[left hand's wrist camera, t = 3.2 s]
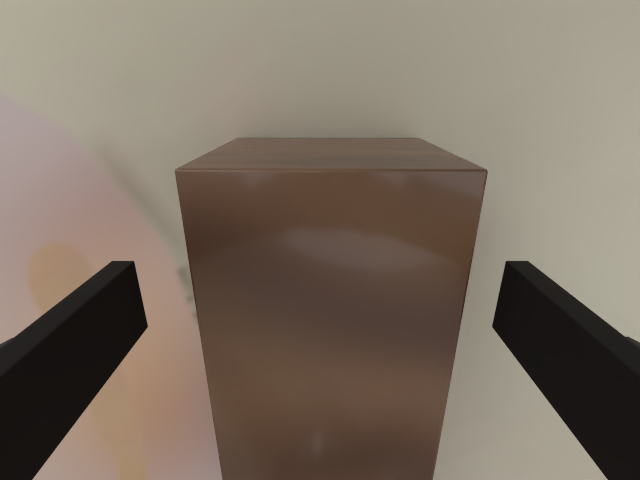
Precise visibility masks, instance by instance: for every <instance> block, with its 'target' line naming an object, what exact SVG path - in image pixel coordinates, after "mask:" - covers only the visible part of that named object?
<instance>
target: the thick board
mask: <svg viewBox="0 0 640 480" xmlns="http://www.w3.org/2000/svg"><path fill="white" fill-rule="evenodd" d="M487 173H488V172H487V170H486V169H484V168H482V167H480V166H478V165H475V164H473V163H471V162H469V161H467V160H465V159H463V158H460V157H458V156H456V155H454V154H452V153H450V152H447V151H445V150H443V149H441V148H439V147H437V146H435V145H432V144H430V143H428V142H426V141H424V140H422V139H420V138H237V139H235V140H233V141H231V142H229V143H227V144H225V145H223V146H221V147H219V148H217V149H215V150H213V151H211V152H209V153H207V154H205V155H203V156H201V157H199V158H197V159H195V160H193V161H191V162H189V163H187V164H185V165H183V166H181V167H179V168H177V169H176V170H175V175H176V181H177V187H178V194H179V200H180V207H181V213H182V220H183V226H184V233H185V239H186V246H187V252H188V259H189V265H190V272H191V278H192V285H193V291H194V298H195V304H196V310H197V317H198V323H199V330H200V336H201V343H202V349H203V356H204V362H205V369H206V375H207V382H208V388H209V395H210V401H211V407H212V414H213V421H214V427H215V433H216V440H217V446H218V453H219V459H220V466H221V472H222V479H223V480H433V475H434V470H435V464H436V458H437V453H438V447H439V442H440V436H441V430H442V425H443V419H444V414H445V408H446V402H447V397H448V391H449V386H450V380H451V374H452V369H453V363H454V358H455V352H456V346H457V341H458V335H459V330H460V324H461V318H462V313H463V307H464V302H465V296H466V290H467V285H468V279H469V274H470V268H471V263H472V257H473V251H474V246H475V240H476V235H477V229H478V223H479V218H480V212H481V207H482V201H483V195H484V190H485V184H486V179H487Z"/></svg>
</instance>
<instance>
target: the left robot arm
mask: <svg viewBox="0 0 640 480" xmlns="http://www.w3.org/2000/svg"><path fill="white" fill-rule="evenodd" d="M147 327H148V325H147V320H146V316H145V311H144V306H143V301H142V297H141V292H140V287H139V283H138V278H137V273H136V268H135V264H134V261H112V262H110V263H109V264H108V265H107V266H105V267H104V268H103V269H101V270H100V271H99V272H98V273H96V274H95V275H94V276H92V277H91V278H90V279H89V280H87V281H86V282H85V283H83V284H82V285H81V286H80V287H78V288H77V289H76V290H74V291H73V292H72V293H71V294H69V295H68V296H67V297H65V298H64V299H63V300H62V301H60V302H59V303H58V304H56V305H55V306H54V307H53V308H51V309H50V310H49V311H48V312H46V313H45V314H44V315H42V316H41V317H40V318H39V319H37V320H36V321H35V322H33V323H32V324H31V325H30V326H28V327H27V328H26V329H24V330H23V331H22V332H21V333H19V334H18V335H17V336H15V337H14V338H11V339H9V340H7V341H6V342H4V343H2V344H0V480H32V479H33V478H34V476H35V475H36V474H37V473H38V471H39V470H40V469H41V467H42V466H43V465H44V463H45V462H46V461H47V459H48V458H49V457H50V455H51V454H52V453H53V451H54V450H55V449H56V447H57V446H58V445H59V444H60V442H61V441H62V440H63V438H64V437H65V436H66V434H67V433H68V432H69V430H70V429H71V428H72V426H73V425H74V424H75V422H76V421H77V420H78V418H79V417H80V416H81V414H82V413H83V412H84V410H85V409H86V408H87V407H88V405H89V404H90V403H91V401H92V400H93V399H94V397H95V396H96V395H97V393H98V392H99V391H100V389H101V388H102V387H103V385H104V384H105V383H106V381H107V380H108V379H109V377H110V376H111V375H112V373H113V372H114V371H115V370H116V368H117V367H118V366H119V364H120V363H121V362H122V360H123V359H124V358H125V356H126V355H127V354H128V352H129V351H130V350H131V348H132V347H133V346H134V344H135V343H136V342H137V340H138V339H139V338H140V336H141V335H142V334H143V332H144V331H145V330H146V329H147ZM492 327H493V329H494V330H495V331H496V332H497V334H498V335H499V336H500V338H501V339H502V340H503V342H504V343H505V344H506V346H507V347H508V348H509V350H510V351H511V352H512V354H513V355H514V356H515V358H516V359H517V360H518V362H519V363H520V364H521V366H522V367H523V368H524V370H525V371H526V372H527V373H528V375H529V376H530V377H531V379H532V380H533V381H534V383H535V384H536V385H537V387H538V388H539V389H540V391H541V392H542V393H543V395H544V396H545V397H546V399H547V400H548V401H549V403H550V404H551V405H552V407H553V408H554V409H555V410H556V412H557V413H558V414H559V416H560V417H561V418H562V420H563V421H564V422H565V424H566V425H567V426H568V428H569V429H570V430H571V432H572V433H573V434H574V436H575V437H576V438H577V440H578V441H579V442H580V444H581V445H582V446H583V447H584V449H585V450H586V451H587V453H588V454H589V455H590V457H591V458H592V459H593V461H594V462H595V463H596V465H597V466H598V467H599V469H600V470H601V471H602V473H603V474H604V475H605V477H606V478H607V479H608V480H640V343H639V342H637V341H635V340H634V339H632V338H630V337H625V336H623V335H622V334H621V333H619V332H618V331H617V330H616V329H614V328H613V327H612V326H610V325H609V324H608V323H607V322H605V321H604V320H603V319H601V318H600V317H599V316H598V315H596V314H595V313H594V312H592V311H591V310H590V309H589V308H587V307H586V306H585V305H584V304H582V303H581V302H580V301H578V300H577V299H576V298H575V297H573V296H572V295H571V294H569V293H568V292H567V291H566V290H564V289H563V288H562V287H560V286H559V285H558V284H557V283H555V282H554V281H553V280H551V279H550V278H549V277H548V276H546V275H545V274H544V273H542V272H541V271H540V270H539V269H537V268H536V267H535V266H533V265H532V264H531V263H530V262H528V261H506V264H505V268H504V273H503V278H502V283H501V287H500V292H499V297H498V301H497V306H496V311H495V316H494V320H493V325H492Z"/></svg>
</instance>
